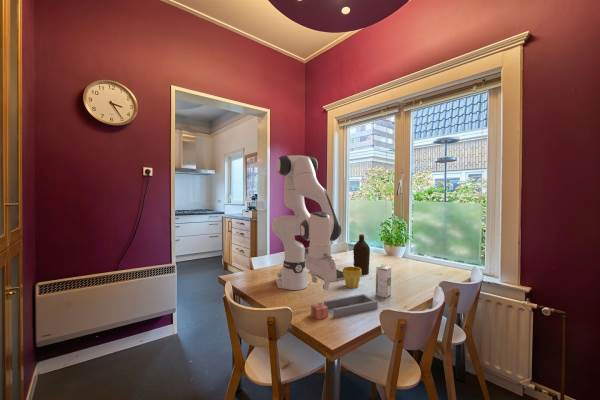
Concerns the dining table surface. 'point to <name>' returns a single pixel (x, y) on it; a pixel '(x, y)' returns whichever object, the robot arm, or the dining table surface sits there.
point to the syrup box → (383, 281)
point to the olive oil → (361, 255)
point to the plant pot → (352, 276)
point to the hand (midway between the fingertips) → (320, 285)
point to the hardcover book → (338, 275)
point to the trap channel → (344, 308)
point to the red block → (319, 311)
